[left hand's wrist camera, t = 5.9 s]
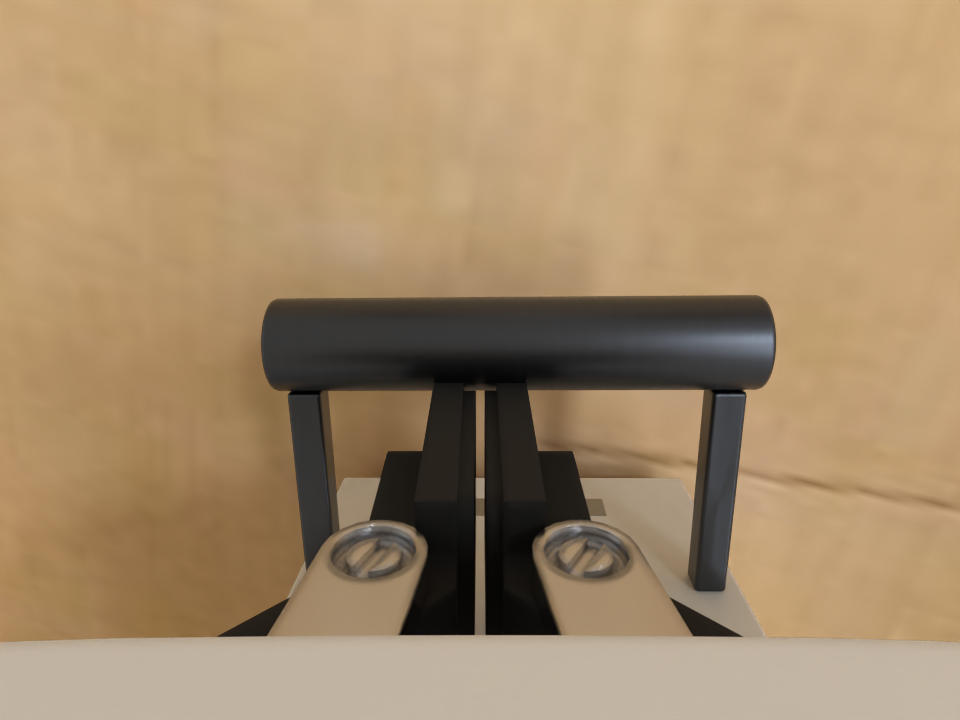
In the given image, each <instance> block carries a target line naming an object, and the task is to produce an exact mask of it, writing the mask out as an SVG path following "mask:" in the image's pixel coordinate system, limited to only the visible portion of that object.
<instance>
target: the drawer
mask: <svg viewBox="0 0 960 720" xmlns="http://www.w3.org/2000/svg"><path fill="white" fill-rule="evenodd" d="M775 352H776V331H775V323H774V318H773V314H772V311H771V309H770V306H769V304H768V303H767V301H766V300H765V299H764V298H762V297H760V296H757V295H732V296H591V297H451V298H310V299H276V300H274V301H272V302H271V303H270V304H269V306H268V308H267V310H266V313H265V316H264V320H263V326H262V334H261V353H262V361H263V367H264V371H265V375H266V378H267V380H268V382H269V384H270V386H271V387H272V388H274V389H276V390H278V391H290V393H289V394H288V403H289V412H290V422H291V432H292V441H293V451H294V460H295V470H296V480H297V489H298V499H299V509H300V518H301V528H302V537H303V547H304V557H305V561H304V564H303V566H302V568H301V570H300V572H299V574H298V576H297V578H296V580H295V582H294V585H293V587H292V589H291V591H290V593H289V595H288V597H287V599H288V598H290V597H291V596H292V594H293V592H294V591H295V589H296V587H297V586H298V584H299V583H300V581H301V579H302V578H303V576H304V574H305V573H306V571H307V569H308V568H309V566H310V564H311V563H312V561H313V560H314V558H315V556H316V555H317V553H318V551H319V550H320V548H321V546H322V545H323V544H324V543H325V542H326V540H327V539H328V538H329V537H330V536H331V535H333V534H334V533H336V532H338V531H339V530H341V529H342V528H345V527H347V526H350V525H353V524H355V523H359V522H365V521H369V519H370V515H371V512H372V508H373V504H374V501H375V497H376V493H377V489H378V486H379V482H380V478H344V480H343V482H342V484H341V486H340V488H339V490H338V492H336V480H335V468H334V456H333V445H332V433H331V421H330V409H329V398H328V391H427V390H433V386H434V383H464V390H496V386H497V383H526V384H527V390H704V397H703V408H702V419H701V430H700V442H699V453H698V464H697V475H696V486H695V497H694V503H693V501H692V499H691V497H690V495H689V494H688V492H687V490H686V488H685V486H684V484H683V483H682V481H681V479H679V478H580V481H581V484H582V488H583V492H584V496H585V499H586V503H587V507H588V510H589V514H590V518H591V521H595V522H601V523H605V524H607V525H610V526H613V527H615V528H618V529H619V530H621V531H622V532H624V533H626V534H627V535H629V536H630V537H631V538H632V539H633V540H634V542H635V543H636V544H637V545H638V546H639V548H640V550H641V551H642V553H643V555H644V556H645V558H646V560H647V561H648V563H649V564H650V566H651V568H652V569H653V571H654V573H655V574H656V576H657V578H658V579H659V581H660V583H661V584H662V586H663V587H664V589H665V591H666V592H667V594H668V596H669V597H671V598H672V599H674V600H676V601H678V602H680V603H682V604H684V605H685V606H687V607H689V608H691V609H693V610H695V611H697V612H698V613H700V614H702V615H704V616H706V617H708V618H710V619H711V620H713V621H715V622H717V623H719V624H721V625H723V626H724V627H726V628H728V629H730V630H732V631H734V632H736V633H738V634H739V635H741V636H743V637H766V635H765V633H764V631H763V629H762V627H761V626H760V624H759V622H758V620H757V618H756V616H755V615H754V613H753V611H752V609H751V607H750V605H749V604H748V602H747V600H746V598H745V596H744V594H743V593H742V591H741V589H740V587H739V585H738V583H737V582H736V580H735V578H734V576H733V574H732V572H731V571H730V569H729V567H728V559H729V549H730V540H731V531H732V522H733V513H734V504H735V495H736V486H737V477H738V468H739V458H740V449H741V440H742V431H743V422H744V413H745V404H746V393H745V391H744V390H756V389H759V388H762V387H763V386H764V385H765V384H766V383H767V381H768V380H769V378H770V375H771V373H772V369H773V365H774V360H775ZM484 491H485V478H476V579H475V635H485V541H484Z"/></svg>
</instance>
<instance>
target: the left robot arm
mask: <svg viewBox="0 0 960 720" xmlns="http://www.w3.org/2000/svg"><path fill="white" fill-rule="evenodd" d="M484 541H485V635H475V579H476V391H464V383H434V386H433V392H432V398H431V404H430V410H429V416H428V422H427V428H426V434H425V440H424V446H423V451H388V453H387V456H386V460H385V463H384V467H383V471H382V475H381V478H380V482H379V486H378V489H377V493H376V497H375V501H374V504H373V508H372V512H371V515H370V519H369V521H365V522H359V523H355V524H353V525H350V526H347V527H345V528H342V529H341V530H339V531H338V532H336V533H334V534H333V535H331V536H330V537H329V538H328V539H327V540H326V542H325V543H324V544H323V545H322V546H321V548H320V550H319V551H318V553H317V555H316V556H315V558H314V560H313V561H312V563H311V564H310V566H309V568H308V569H307V571H306V573H305V574H304V576H303V578H302V579H301V581H300V583H299V584H298V586H297V587H296V589H295V591H294V592H293V594H292V596H291V597H290V598H288V599H286V600H284V601H282V602H281V603H279V604H277V605H275V606H273V607H271V608H269V609H268V610H266V611H264V612H262V613H260V614H258V615H256V616H254V617H253V618H251V619H249V620H247V621H245V622H243V623H241V624H240V625H238V626H236V627H234V628H232V629H230V630H228V631H227V632H225V633H223V634H221V635H219V636H217V637H176V638H107V639H76V640H46V641H15V642H0V720H960V642H947V641H917V640H882V639H847V638H800V637H743V636H741V635H739V634H738V633H736V632H734V631H732V630H730V629H728V628H726V627H724V626H723V625H721V624H719V623H717V622H715V621H713V620H711V619H710V618H708V617H706V616H704V615H702V614H700V613H698V612H697V611H695V610H693V609H691V608H689V607H687V606H685V605H684V604H682V603H680V602H678V601H676V600H674V599H672V598H671V597H669V596H668V594H667V592H666V591H665V589H664V587H663V586H662V584H661V583H660V581H659V579H658V578H657V576H656V574H655V573H654V571H653V569H652V568H651V566H650V564H649V563H648V561H647V560H646V558H645V556H644V555H643V553H642V551H641V550H640V548H639V546H638V545H637V544H636V543H635V542H634V540H633V539H632V538H631V537H630V536H629V535H627V534H626V533H624V532H622V531H621V530H619V529H618V528H615V527H613V526H610V525H607V524H605V523H601V522H595V521H591V518H590V514H589V510H588V507H587V503H586V499H585V496H584V492H583V488H582V484H581V481H580V477H579V473H578V469H577V466H576V462H575V458H574V455H573V452H572V451H538V449H537V443H536V437H535V431H534V426H533V420H532V414H531V408H530V402H529V396H528V390H527V384H526V383H497V386H496V390H485V491H484Z"/></svg>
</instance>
